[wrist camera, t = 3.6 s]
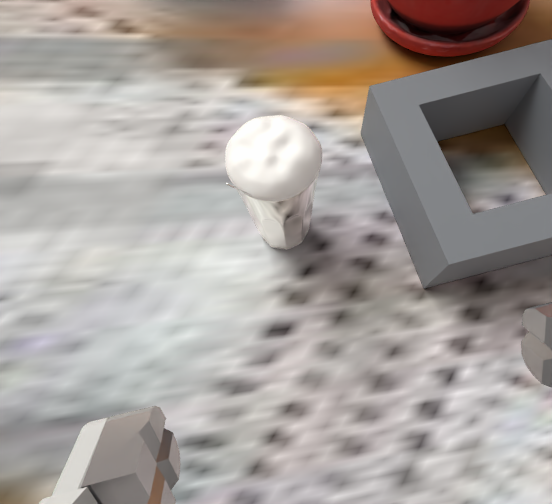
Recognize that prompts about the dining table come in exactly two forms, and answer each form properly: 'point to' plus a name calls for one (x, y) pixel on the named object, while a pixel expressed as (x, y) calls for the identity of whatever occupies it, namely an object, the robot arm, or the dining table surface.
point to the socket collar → (437, 174)
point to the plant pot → (448, 23)
